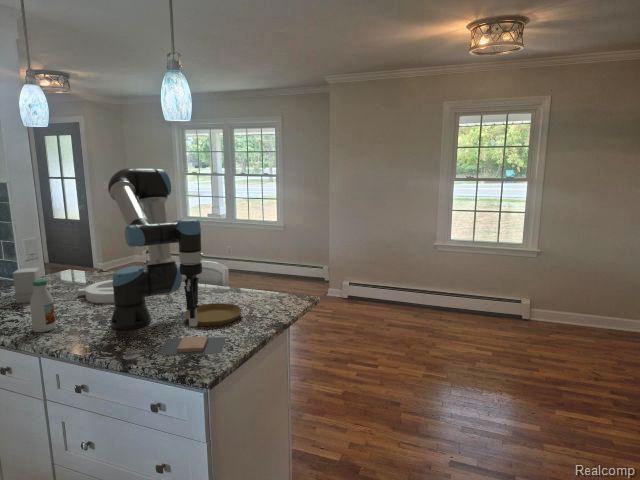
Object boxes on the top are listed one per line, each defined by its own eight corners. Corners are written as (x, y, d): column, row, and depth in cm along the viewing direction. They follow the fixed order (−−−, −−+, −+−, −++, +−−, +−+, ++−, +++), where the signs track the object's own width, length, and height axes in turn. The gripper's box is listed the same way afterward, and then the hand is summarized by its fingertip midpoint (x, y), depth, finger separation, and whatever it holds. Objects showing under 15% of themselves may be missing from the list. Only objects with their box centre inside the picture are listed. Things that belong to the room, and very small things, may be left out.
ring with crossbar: (158, 292, 215) (157, 284, 215) (106, 307, 192) (105, 297, 191) (126, 284, 230) (125, 276, 229) (74, 296, 207) (73, 287, 206)
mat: (156, 356, 143) (156, 355, 142) (167, 339, 156) (167, 338, 156) (221, 354, 145) (221, 353, 145) (226, 338, 158) (226, 337, 158)
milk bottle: (38, 334, 160) (33, 284, 156) (29, 330, 164) (23, 281, 160) (59, 328, 166) (55, 280, 163) (50, 324, 170) (45, 277, 167)
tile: (183, 340, 155) (177, 352, 145) (183, 337, 154) (176, 348, 145) (207, 339, 156) (203, 351, 146) (207, 336, 155) (203, 347, 146)
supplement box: (43, 296, 206) (40, 267, 203) (37, 301, 198) (34, 271, 195) (22, 297, 203) (19, 268, 201) (15, 303, 195) (11, 272, 192)
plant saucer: (198, 308, 192) (197, 301, 192) (248, 310, 190) (248, 304, 189) (174, 327, 169) (174, 319, 168) (231, 331, 166) (231, 323, 166)
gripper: (198, 266, 141) (200, 332, 145) (204, 258, 154) (206, 319, 158) (175, 267, 140) (178, 332, 144) (184, 258, 153) (186, 319, 157)
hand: (193, 325), depth 151 cm, fingers closed
